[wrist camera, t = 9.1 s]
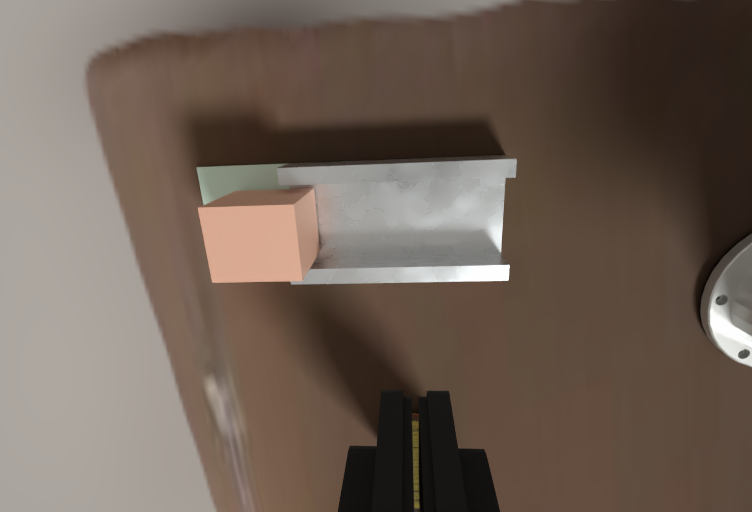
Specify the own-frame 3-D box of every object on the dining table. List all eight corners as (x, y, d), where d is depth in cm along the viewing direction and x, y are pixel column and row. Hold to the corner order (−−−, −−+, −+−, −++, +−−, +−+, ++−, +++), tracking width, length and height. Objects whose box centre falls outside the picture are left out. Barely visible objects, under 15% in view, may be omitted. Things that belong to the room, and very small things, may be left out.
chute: (505, 154, 29) (516, 158, 26) (498, 265, 32) (508, 280, 29) (288, 163, 30) (276, 168, 27) (300, 270, 33) (291, 284, 30)
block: (314, 188, 30) (293, 204, 24) (320, 251, 31) (302, 280, 26) (235, 190, 30) (197, 207, 24) (245, 253, 32) (212, 282, 26)
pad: (288, 163, 30) (287, 163, 30) (300, 270, 33) (299, 271, 32) (198, 167, 30) (196, 167, 30) (217, 271, 33) (216, 273, 33)
